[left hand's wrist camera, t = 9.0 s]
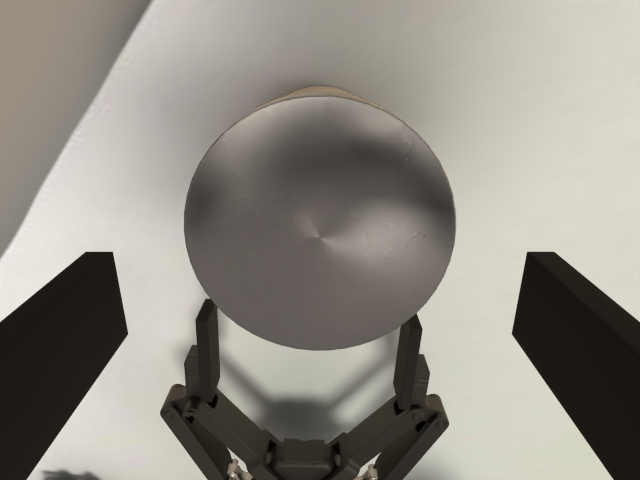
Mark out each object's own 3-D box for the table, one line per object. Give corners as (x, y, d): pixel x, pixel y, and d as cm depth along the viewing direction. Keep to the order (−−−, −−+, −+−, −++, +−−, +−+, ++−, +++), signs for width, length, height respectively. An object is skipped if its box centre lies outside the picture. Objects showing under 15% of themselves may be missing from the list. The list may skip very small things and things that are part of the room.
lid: (178, 101, 18) (158, 107, 15) (444, 81, 17) (462, 84, 15) (219, 327, 21) (207, 357, 19) (437, 313, 21) (451, 343, 19)
